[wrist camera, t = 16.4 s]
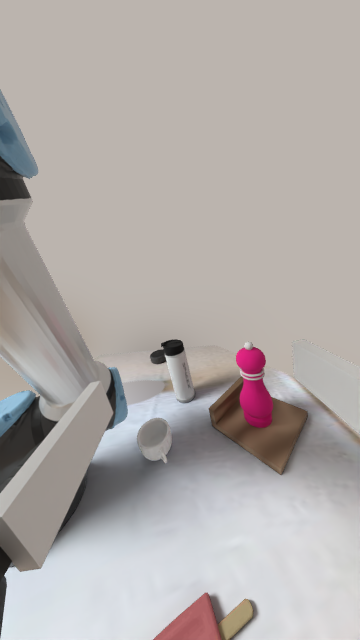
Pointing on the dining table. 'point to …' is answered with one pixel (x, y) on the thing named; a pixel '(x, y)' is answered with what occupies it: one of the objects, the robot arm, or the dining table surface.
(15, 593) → the dining table surface
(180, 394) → the travel mug
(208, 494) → the dining table surface
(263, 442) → the spice board
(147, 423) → the teacup
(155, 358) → the smart speaker
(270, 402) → the pepper mill
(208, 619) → the popsicle
